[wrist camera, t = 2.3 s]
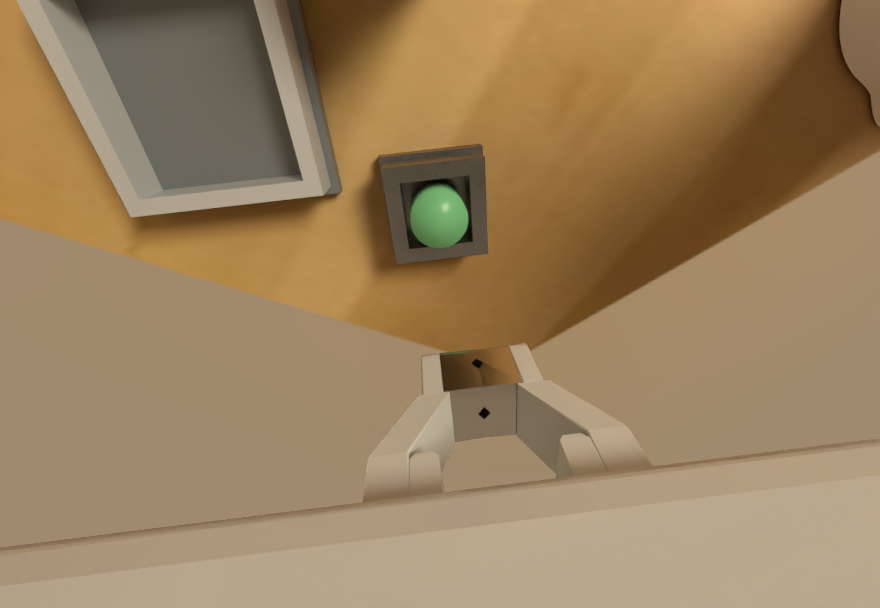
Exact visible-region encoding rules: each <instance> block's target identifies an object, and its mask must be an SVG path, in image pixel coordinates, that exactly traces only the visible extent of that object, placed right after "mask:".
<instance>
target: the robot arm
mask: <svg viewBox="0 0 880 608" xmlns="http://www.w3.org/2000/svg"><path fill="white" fill-rule="evenodd" d="M839 30H840V42H841V48H842V52H843V56H844V59H845V61H846V63H847V66H848V67H849V69H850V71H851V72H852V73H853V75H854V76H855V77H856V78H857V79H858V80H859V81H860V82H861V83H862V84H863V85H864V86H865V87H866V89H867V90H868V91H869V93H870V95H871V104H872V112H873V116H874V120H875V122H876V124H877V125H878V126H879V127H880V0H842V3H841V10H840V25H839ZM440 364H441V365H440ZM421 371H422V395H418V396H417V397H416V398H415V399H414V400H413V402H412V403H411V404H410V405H409V407H408V408H407V409H406V411H405V412H404V413H403V414H402V415H401V417H400V418H399V419H398V420H397V422H396V423H395V424H394V426H393V427H392V428H391V429H390V431H389V432H388V433H387V434H386V436H385V437H384V438H383V439H382V441H381V442H380V443H379V444H378V446H377V447H376V448H375V450H374V451H373V452H372V453H371V455H370V456H369V457H368V463H367V472H366V480H365V488H364V496H363V503H355V504H347V505H339V506H331V507H323V508H315V509H308V510H300V511H291V512H283V513H275V514H267V515H260V516H251V517H243V518H235V519H227V520H219V521H211V522H203V523H195V524H187V525H178V526H171V527H162V528H154V529H146V530H139V531H131V532H124V533H123V532H122V533H114V534H106V535H100V536H99V535H98V536H91V537H82V538H74V539H66V540H59V541H50V542H42V543H35V544H27V545H19V546H10V547H2V548H0V608H880V438H877V439H870V440H861V441H853V442H845V443H838V444H829V445H821V446H813V447H805V448H797V449H789V450H781V451H773V452H765V453H757V454H749V455H741V456H733V457H725V458H717V459H709V460H701V461H693V462H685V463H677V464H669V465H661V466H652V464H651V463H650V461H649V459H648V458H647V456H646V455H645V453H644V452H643V450H642V449H641V447H640V446H639V444H638V443H637V441H636V439H635V438H634V436H633V435H632V433H631V432H630V430H629V429H628V427H627V426H626V425H624V424H622V423H621V422H619V421H617V420H616V419H614V418H612V417H611V416H609V415H607V414H606V413H604V412H602V411H600V410H599V409H597V408H595V407H594V406H592V405H591V404H589V403H587V402H586V401H584V400H582V399H581V398H579V397H577V396H576V395H574V394H572V393H571V392H569V391H567V390H565V389H564V388H562V387H561V386H559V385H557V384H556V383H554V382H552V381H550V380H543V377H542V375H541V373H540V371H539V369H538V367H537V365H536V363H535V361H534V358H533V357H532V354H531V352H530V350H529V348H528V346H527V344H525V343H520V344H513V345H508V346H503V347H495V348H487V349H479V350H467V351H457V352H447V353H440V357H439V354H429V355H422V356H421ZM515 434H517V437H518V438H519V439H521V440H522V441H523V442H524V443H525V444H526V445H527V446H528V447H529V448H530V449H531V450H532V451H533V452H534V453H535V454H536V455H537V456H538V457H539V458H540V459H541V460H542V461H543V462H544V463H545V464H546V465H547V466H549V468H551V469H552V470H553V471H554V472H555V473H556V479H548V480H540V481H532V482H524V483H516V484H508V485H500V486H492V487H484V488H475V489H467V490H460V491H451V492H444V486H443V479H442V470H443V468H444V466H445V464H446V462H447V460H448V457H449V455H450V453H451V451H452V449H453V447H454V445H455V442H457V441H464V440H471V439H477V438H484V437H493V436H504V435H515Z"/></svg>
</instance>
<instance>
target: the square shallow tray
mask: <svg viewBox="0 0 880 608" xmlns="http://www.w3.org/2000/svg"><path fill="white" fill-rule="evenodd" d="M16 1H17V2H18V4H19V6H20V8H21V10H22V12H23V14H24V16H25V18H26V20H27V21H28V23H29V25H30V27H31V29H32V31H33V33H34V35H35V37H36V38H37V40H38V42H39V44H40V46H41V48H42V50H43V52H44V54H45V56H46V57H47V59H48V61H49V63H50V65H51V67H52V69H53V71H54V73H55V74H56V76H57V78H58V80H59V82H60V84H61V86H62V88H63V90H64V92H65V93H66V95H67V97H68V99H69V101H70V103H71V105H72V107H73V109H74V110H75V112H76V114H77V116H78V118H79V120H80V122H81V124H82V126H83V128H84V129H85V131H86V133H87V135H88V137H89V139H90V141H91V143H92V145H93V146H94V148H95V150H96V152H97V154H98V156H99V158H100V160H101V162H102V164H103V165H104V167H105V169H106V171H107V173H108V175H109V177H110V179H111V181H112V182H113V184H114V186H115V188H116V190H117V192H118V194H119V196H120V198H121V200H122V201H123V203H124V205H125V207H126V209H127V211H128V213H129V215H130V217H140V216H149V215H157V214H166V213H175V212H184V211H192V210H201V209H210V208H218V207H227V206H236V205H245V204H253V203H262V202H271V201H279V200H288V199H297V198H305V197H314V196H323V195H328V194H337V193H340V192H341V191H342V186H341V182H340V177H339V173H338V168H337V164H336V160H335V155H334V151H333V146H332V142H331V137H330V133H329V128H328V124H327V120H326V115H325V111H324V106H323V102H322V97H321V93H320V89H319V84H318V80H317V75H316V71H315V66H314V62H313V57H312V53H311V49H310V44H309V40H308V35H307V31H306V26H305V22H304V18H303V13H302V9H301V4H300V0H16Z"/></svg>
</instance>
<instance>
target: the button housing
mask: <svg viewBox="0 0 880 608" xmlns="http://www.w3.org/2000/svg"><path fill="white" fill-rule="evenodd" d="M378 160H379V166H380V172H381V178H382V184H383V190H384V196H385V202H386V207H387V213H388V219H389V225H390V231H391V237H392V243H393V249H394V255H395V256H396V262H397V264H404V263H412V262H421V261H429V260H438V259H446V258H455V257H463V256H472V255H480V254H488V242H487V212H486V182H485V156H483V149H482V145H481V144H475V145H466V146H457V147H448V148H439V149H431V150H422V151H413V152H404V153H395V154H387V155H379V157H378ZM435 182H439V183H445V184H448V185H450V186H451V187H453V188H454V189H455V190H456V191H457V192H458V193H459V195H460V197H461V199H462V201H463V203H464V205H465V207H466V209H467V212H468V226H467V229H466V232H465V233H464V235H463V236H462V238H461V239H460V240H459V241H458V242H456V243H455V244H453V245H451V246H449V247H445V248H433V247H429V246H427V245H425V244H423V243H421V242H420V241H419V240H418V239H417V238H416V236H415V235H414V233H413V231H412V228H411V222H410V207H411V202H412V199H413V197H414V195H415V194H416V192H417V191H418V190H419V189H420V188H422V187H423V186H425V185H427V184H430V183H435Z"/></svg>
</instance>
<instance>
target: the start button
mask: <svg viewBox="0 0 880 608" xmlns="http://www.w3.org/2000/svg"><path fill="white" fill-rule="evenodd" d="M410 222H411V228H412V231H413V233H414V235H415V236H416V238H417V239H418V240H419V241H420V242H421V243H423V244H425V245H427V246H429V247H433V248H445V247H449V246H451V245H453V244H455V243H456V242H458V241H459V240H460V239H461V238H462V236H463V235H464V233H465V232H466V229H467V226H468V212H467V209H466V207H465V205H464V203H463V201H462V199H461V197H460V195H459V193H458V192H457V191H456V190H455V189H454V188H453V187H451V186H450V185H448V184H445V183H439V182H435V183H430V184H427V185H425V186H423V187H422V188H420V189H419V190H418V191H417V192H416V194H415V195H414V197H413V199H412V202H411V207H410Z"/></svg>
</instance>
